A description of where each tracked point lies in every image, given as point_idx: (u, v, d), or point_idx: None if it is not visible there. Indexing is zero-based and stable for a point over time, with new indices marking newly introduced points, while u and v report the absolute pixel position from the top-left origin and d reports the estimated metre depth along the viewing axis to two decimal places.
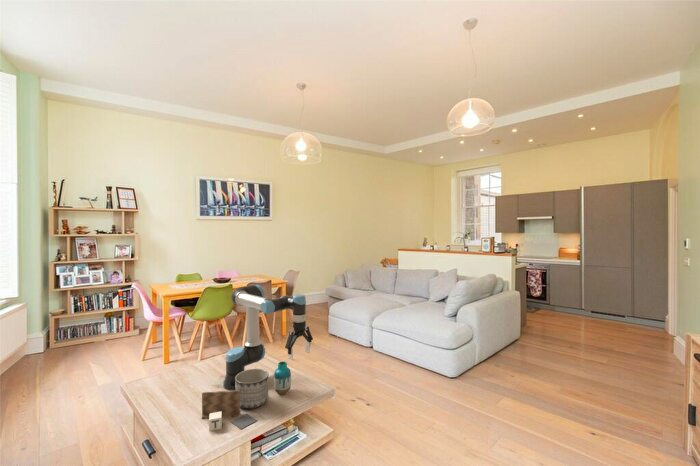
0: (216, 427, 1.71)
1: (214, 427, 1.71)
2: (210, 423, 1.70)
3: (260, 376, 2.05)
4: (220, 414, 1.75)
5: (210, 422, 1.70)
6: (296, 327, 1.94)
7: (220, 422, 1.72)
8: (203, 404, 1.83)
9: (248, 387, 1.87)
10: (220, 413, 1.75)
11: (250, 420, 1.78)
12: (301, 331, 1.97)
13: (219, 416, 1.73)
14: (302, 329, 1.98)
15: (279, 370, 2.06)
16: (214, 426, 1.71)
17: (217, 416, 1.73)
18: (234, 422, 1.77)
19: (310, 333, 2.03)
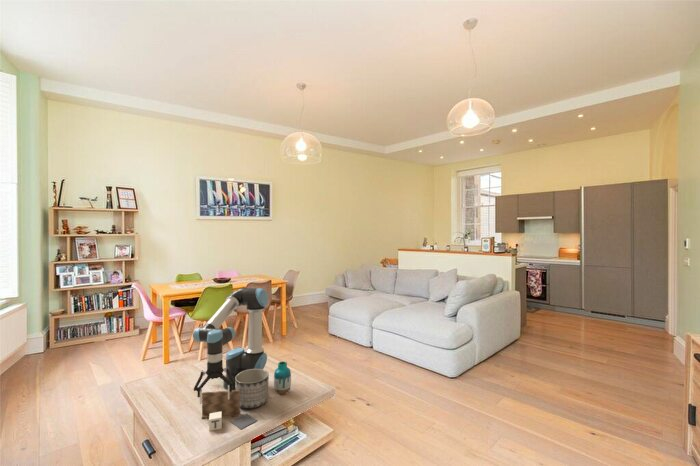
0: (216, 427, 1.71)
1: (214, 427, 1.71)
2: (210, 422, 1.70)
3: (260, 376, 2.05)
4: (220, 414, 1.75)
5: (210, 422, 1.70)
6: (207, 367, 1.71)
7: (220, 422, 1.72)
8: (203, 404, 1.83)
9: (248, 387, 1.87)
10: (220, 413, 1.75)
11: (250, 420, 1.78)
12: (216, 373, 1.72)
13: (219, 416, 1.73)
14: (217, 371, 1.73)
15: (279, 370, 2.06)
16: (214, 426, 1.71)
17: (217, 416, 1.73)
18: (234, 422, 1.77)
19: (231, 376, 1.75)
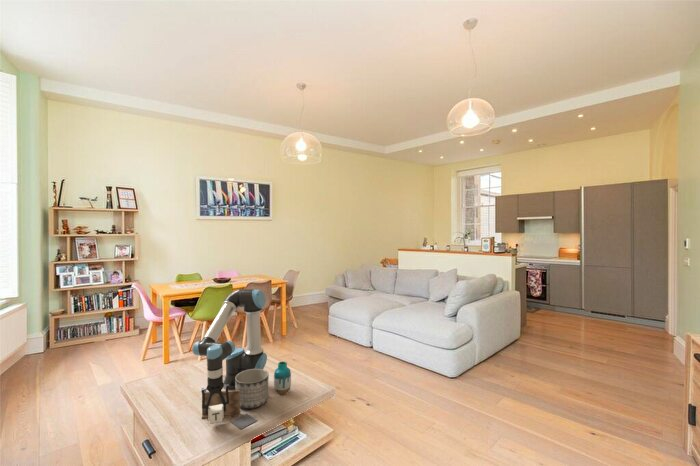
0: (217, 419, 1.72)
1: (215, 419, 1.71)
2: (210, 415, 1.71)
3: (260, 376, 2.05)
4: (220, 407, 1.75)
5: (211, 415, 1.71)
6: None
7: (221, 414, 1.72)
8: None
9: (248, 387, 1.87)
10: (220, 406, 1.76)
11: (250, 420, 1.78)
12: (216, 387, 1.73)
13: (219, 409, 1.73)
14: (218, 385, 1.73)
15: (279, 370, 2.06)
16: (215, 418, 1.71)
17: (217, 409, 1.73)
18: (234, 422, 1.77)
19: (228, 395, 1.75)
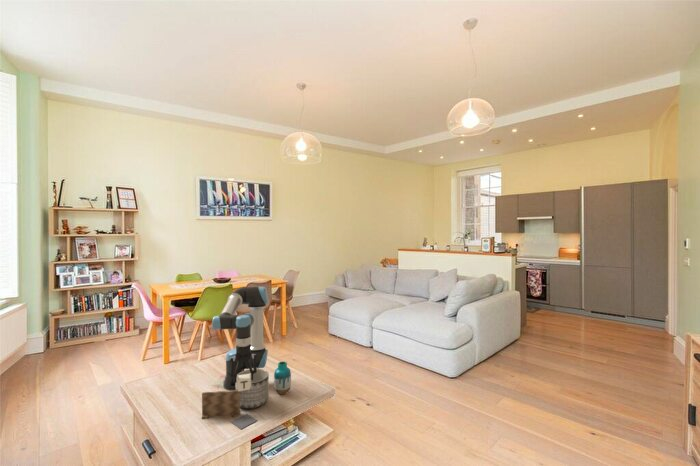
0: (245, 388, 1.75)
1: (243, 387, 1.74)
2: (239, 383, 1.74)
3: (260, 376, 2.05)
4: (248, 376, 1.78)
5: (239, 383, 1.74)
6: (236, 351, 1.75)
7: (248, 383, 1.75)
8: (203, 404, 1.83)
9: None
10: (247, 375, 1.79)
11: (250, 420, 1.78)
12: (245, 356, 1.76)
13: (247, 377, 1.76)
14: (247, 353, 1.77)
15: (279, 370, 2.06)
16: (243, 386, 1.74)
17: (245, 377, 1.76)
18: (234, 422, 1.77)
19: (255, 364, 1.78)
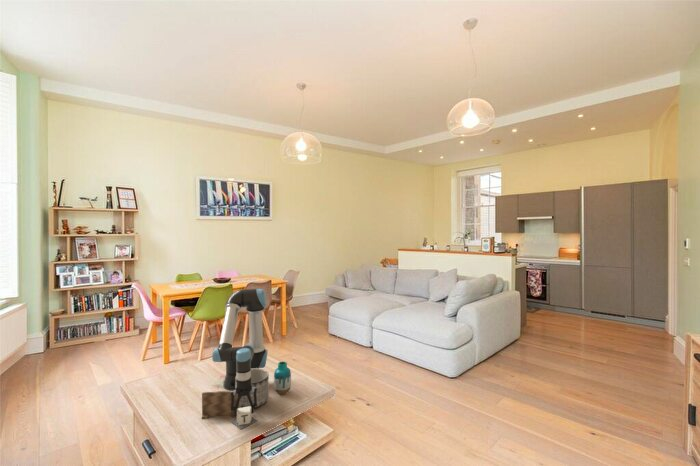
0: (245, 421, 1.75)
1: (243, 421, 1.75)
2: (239, 417, 1.74)
3: (260, 376, 2.05)
4: (248, 409, 1.79)
5: (240, 416, 1.74)
6: (237, 385, 1.75)
7: (249, 416, 1.76)
8: (203, 404, 1.83)
9: None
10: (248, 408, 1.79)
11: None
12: (245, 390, 1.77)
13: (248, 411, 1.77)
14: (247, 387, 1.77)
15: (279, 370, 2.06)
16: (243, 420, 1.75)
17: (246, 411, 1.77)
18: (234, 422, 1.77)
19: None
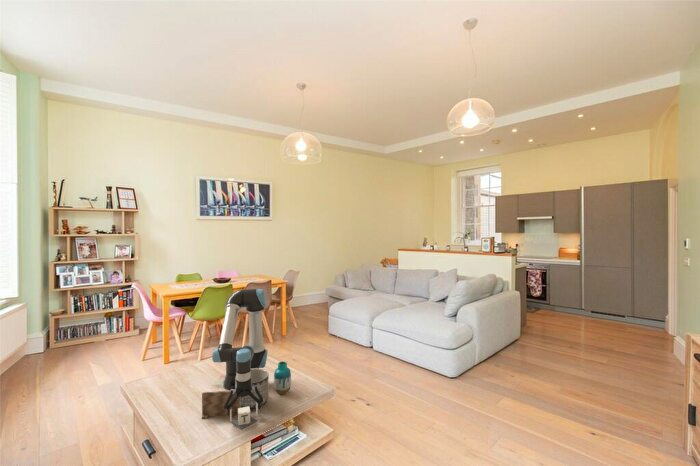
0: (245, 421, 1.75)
1: (243, 421, 1.75)
2: (239, 417, 1.74)
3: (260, 376, 2.05)
4: (248, 409, 1.79)
5: (240, 416, 1.74)
6: (237, 386, 1.75)
7: (249, 416, 1.76)
8: (203, 404, 1.83)
9: None
10: (248, 408, 1.79)
11: (250, 420, 1.78)
12: (245, 391, 1.77)
13: (248, 411, 1.77)
14: (246, 389, 1.77)
15: (279, 370, 2.06)
16: (243, 420, 1.75)
17: (246, 411, 1.77)
18: (234, 422, 1.77)
19: (259, 394, 1.80)
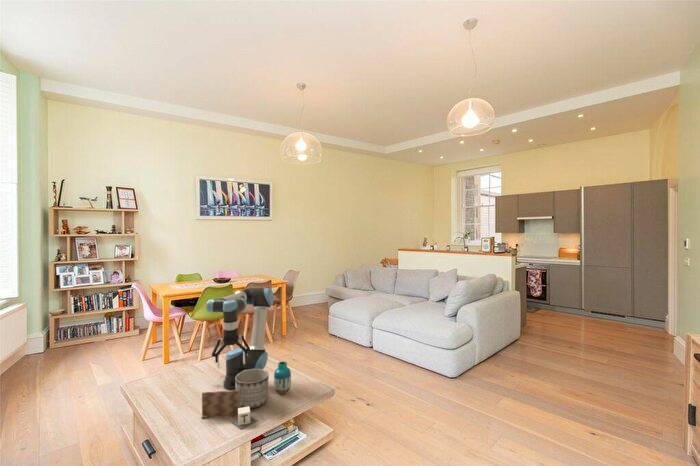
0: (245, 421, 1.75)
1: (243, 421, 1.75)
2: (239, 417, 1.74)
3: (260, 376, 2.05)
4: (248, 409, 1.79)
5: (240, 416, 1.74)
6: (224, 335, 1.81)
7: (249, 416, 1.76)
8: (203, 404, 1.83)
9: (248, 387, 1.87)
10: (248, 408, 1.79)
11: (250, 420, 1.78)
12: (232, 340, 1.83)
13: (248, 411, 1.77)
14: (233, 338, 1.83)
15: (279, 370, 2.06)
16: (243, 420, 1.75)
17: (246, 411, 1.77)
18: (234, 422, 1.77)
19: (246, 343, 1.86)
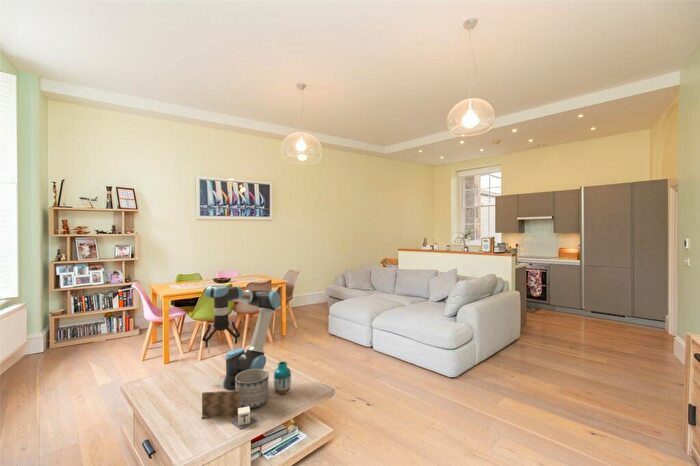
0: (245, 421, 1.75)
1: (243, 421, 1.75)
2: (239, 417, 1.74)
3: (260, 376, 2.05)
4: (248, 409, 1.79)
5: (240, 416, 1.74)
6: (214, 320, 1.85)
7: (249, 416, 1.76)
8: (203, 404, 1.83)
9: (248, 387, 1.87)
10: (248, 408, 1.79)
11: (250, 420, 1.78)
12: (222, 325, 1.87)
13: (248, 411, 1.77)
14: (224, 323, 1.87)
15: (279, 370, 2.06)
16: (243, 420, 1.75)
17: (246, 411, 1.77)
18: (234, 422, 1.77)
19: (236, 329, 1.89)
